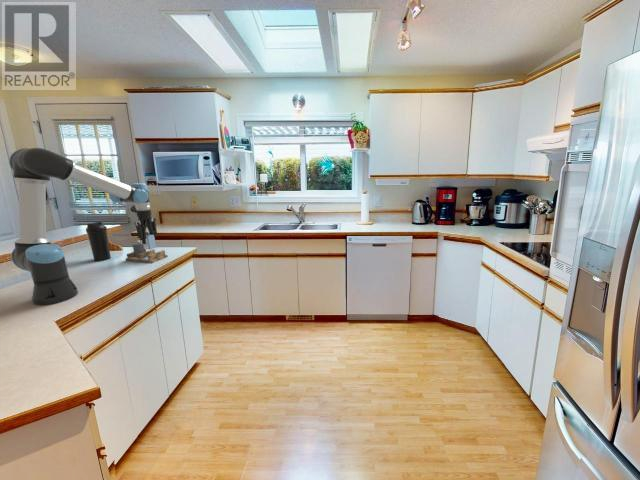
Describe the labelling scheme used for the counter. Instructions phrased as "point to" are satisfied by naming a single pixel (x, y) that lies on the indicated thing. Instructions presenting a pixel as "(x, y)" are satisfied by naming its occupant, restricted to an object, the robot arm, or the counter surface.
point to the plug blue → (150, 240)
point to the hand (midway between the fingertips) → (149, 247)
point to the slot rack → (147, 256)
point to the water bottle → (98, 241)
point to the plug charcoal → (138, 248)
